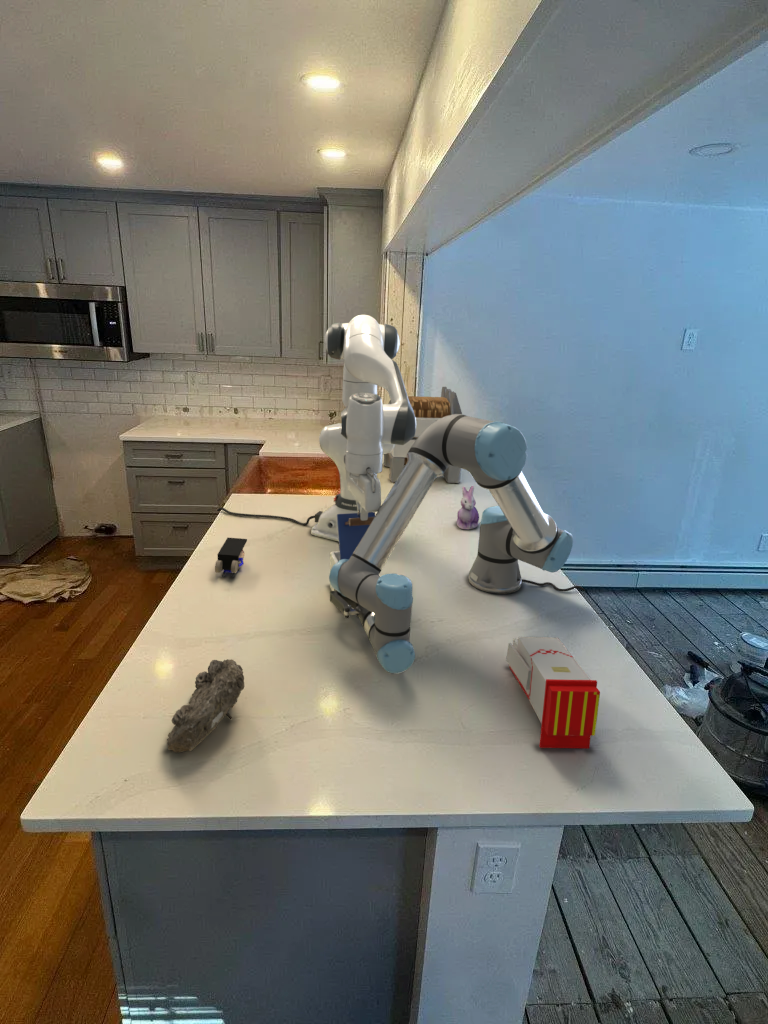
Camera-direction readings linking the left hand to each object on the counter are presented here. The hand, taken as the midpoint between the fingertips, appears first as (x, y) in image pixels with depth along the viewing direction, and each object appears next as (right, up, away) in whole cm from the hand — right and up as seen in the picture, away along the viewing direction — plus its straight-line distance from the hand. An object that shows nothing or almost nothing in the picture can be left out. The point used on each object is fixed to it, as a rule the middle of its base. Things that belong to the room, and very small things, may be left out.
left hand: (362, 518), depth 139 cm
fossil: (-27, -38, -31) cm, 56 cm away
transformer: (+23, +20, +136) cm, 139 cm away
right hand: (-2, -16, +11) cm, 20 cm away
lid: (-1, -6, +7) cm, 10 cm away
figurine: (+36, -4, +71) cm, 80 cm away
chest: (-3, -22, +16) cm, 27 cm away
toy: (+38, -37, -22) cm, 58 cm away
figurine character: (-40, -16, +29) cm, 51 cm away
